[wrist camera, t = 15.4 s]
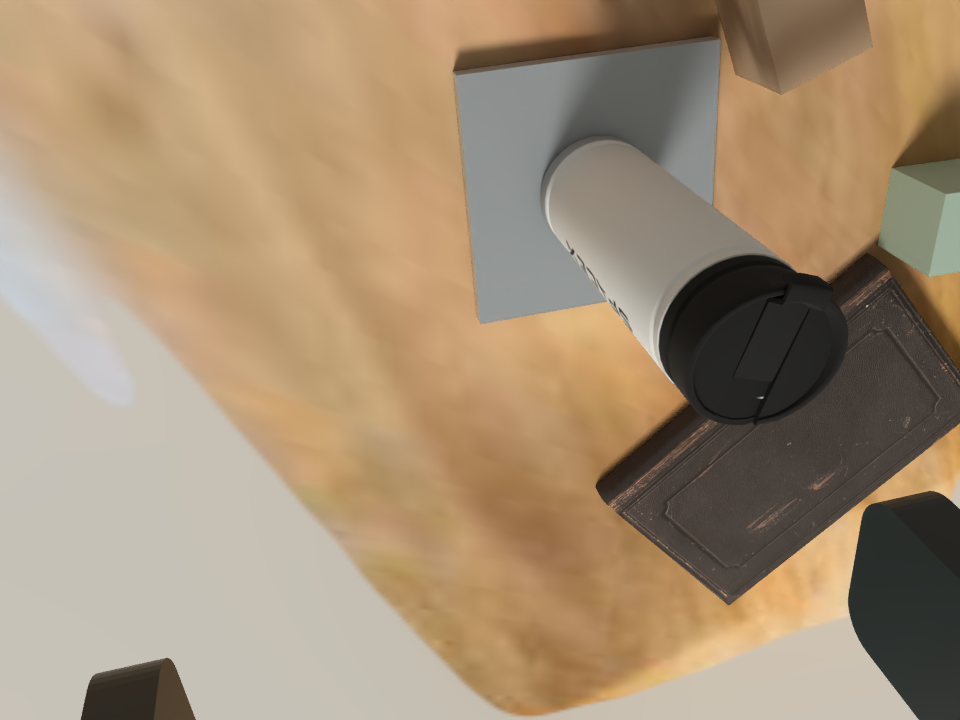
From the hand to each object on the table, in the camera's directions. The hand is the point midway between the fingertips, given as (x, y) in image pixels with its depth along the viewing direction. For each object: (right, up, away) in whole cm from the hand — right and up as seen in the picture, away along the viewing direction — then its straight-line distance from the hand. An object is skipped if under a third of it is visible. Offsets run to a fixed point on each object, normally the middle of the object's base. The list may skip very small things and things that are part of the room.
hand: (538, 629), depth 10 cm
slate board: (+5, +13, +39) cm, 41 cm away
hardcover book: (+21, -2, +52) cm, 56 cm away
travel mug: (+6, +13, +38) cm, 40 cm away
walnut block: (+14, +22, +36) cm, 45 cm away
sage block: (+27, +13, +44) cm, 53 cm away
